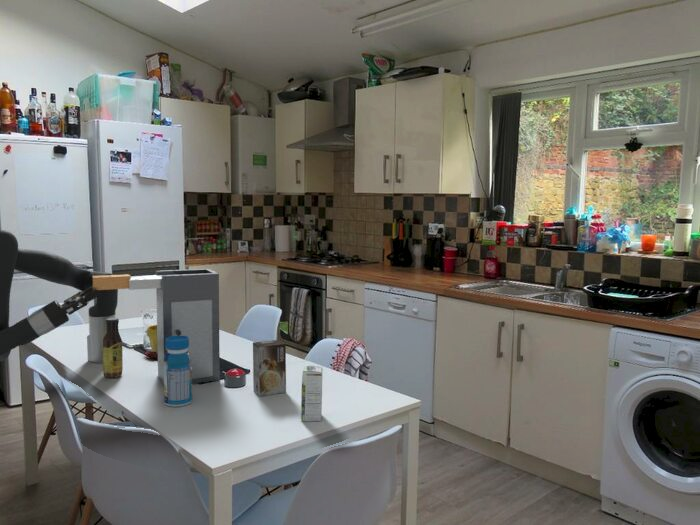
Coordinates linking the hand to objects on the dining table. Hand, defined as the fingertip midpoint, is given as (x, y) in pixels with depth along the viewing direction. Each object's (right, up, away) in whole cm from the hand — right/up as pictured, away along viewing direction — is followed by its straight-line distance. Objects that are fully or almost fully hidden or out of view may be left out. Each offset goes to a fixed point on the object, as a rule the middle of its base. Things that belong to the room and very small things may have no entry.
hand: (97, 289), depth 184 cm
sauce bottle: (-2, -30, +17) cm, 35 cm away
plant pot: (+4, -27, +49) cm, 56 cm away
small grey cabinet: (+24, -31, +16) cm, 42 cm away
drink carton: (+69, -36, -18) cm, 79 cm away
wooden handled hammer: (+11, +1, +5) cm, 12 cm away
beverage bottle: (+28, -34, -8) cm, 44 cm away
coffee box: (+54, -33, +4) cm, 63 cm away
